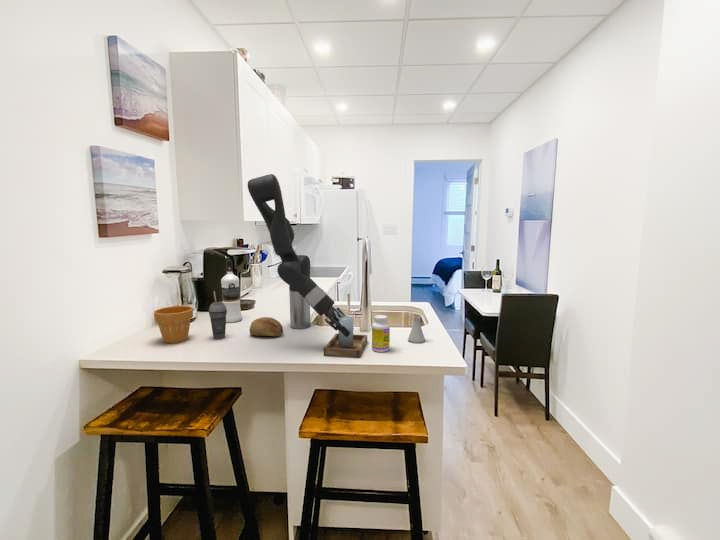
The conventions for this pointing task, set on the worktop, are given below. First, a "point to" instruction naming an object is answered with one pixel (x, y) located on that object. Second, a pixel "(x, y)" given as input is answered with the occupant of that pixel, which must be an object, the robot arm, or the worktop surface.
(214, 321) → the beverage cup
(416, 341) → the flask
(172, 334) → the flower pot
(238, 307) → the vodka
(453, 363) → the worktop surface
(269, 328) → the bread roll
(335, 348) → the tray
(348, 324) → the blue rounded capsule
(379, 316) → the supplement bottle
